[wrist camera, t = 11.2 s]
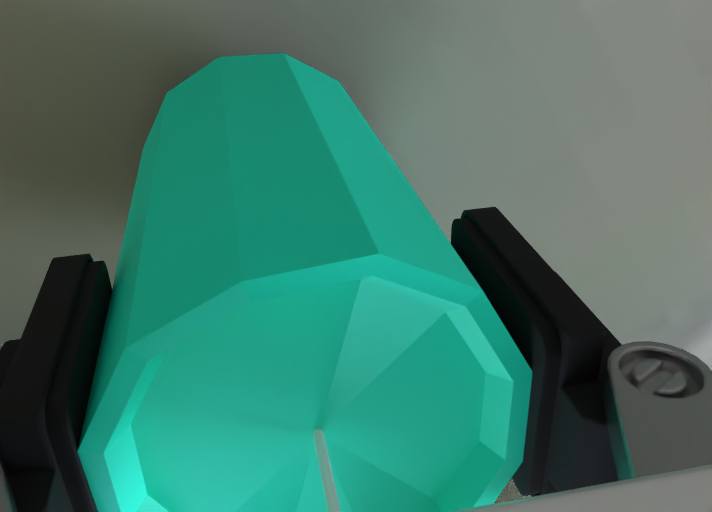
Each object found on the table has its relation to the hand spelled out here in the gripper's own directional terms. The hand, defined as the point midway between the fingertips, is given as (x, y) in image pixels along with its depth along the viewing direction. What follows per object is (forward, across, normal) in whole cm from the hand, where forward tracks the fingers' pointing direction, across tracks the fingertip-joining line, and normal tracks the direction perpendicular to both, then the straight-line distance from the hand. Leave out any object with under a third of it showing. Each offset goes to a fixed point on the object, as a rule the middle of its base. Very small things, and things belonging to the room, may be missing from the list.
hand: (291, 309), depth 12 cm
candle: (+7, 0, 0) cm, 7 cm away
